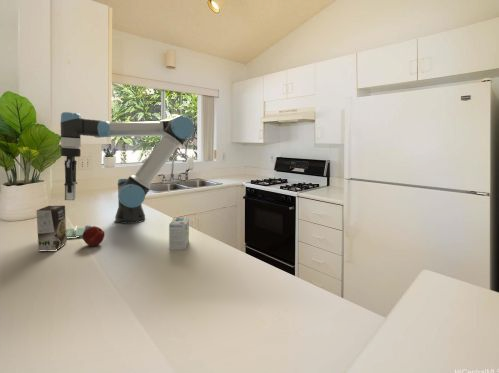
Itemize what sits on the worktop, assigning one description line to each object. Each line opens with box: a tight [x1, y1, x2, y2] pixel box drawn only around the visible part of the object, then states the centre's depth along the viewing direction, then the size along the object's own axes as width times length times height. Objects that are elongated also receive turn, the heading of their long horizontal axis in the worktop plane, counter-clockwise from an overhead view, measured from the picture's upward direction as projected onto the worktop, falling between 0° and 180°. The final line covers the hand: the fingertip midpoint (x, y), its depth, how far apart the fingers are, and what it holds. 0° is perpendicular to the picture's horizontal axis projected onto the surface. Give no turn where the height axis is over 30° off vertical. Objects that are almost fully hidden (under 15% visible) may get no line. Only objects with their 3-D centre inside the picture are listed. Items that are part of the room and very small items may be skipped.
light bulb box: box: [168, 217, 190, 251], centre depth 116 cm, size 11×7×11 cm, turn 5°
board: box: [66, 224, 92, 239], centre depth 126 cm, size 16×12×3 cm
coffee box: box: [35, 205, 68, 251], centre depth 108 cm, size 9×6×16 cm
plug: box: [64, 181, 77, 201], centre depth 128 cm, size 4×4×9 cm
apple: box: [81, 225, 106, 247], centre depth 112 cm, size 7×8×8 cm
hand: (70, 198), depth 128 cm, fingers closed on plug, 4 cm apart
